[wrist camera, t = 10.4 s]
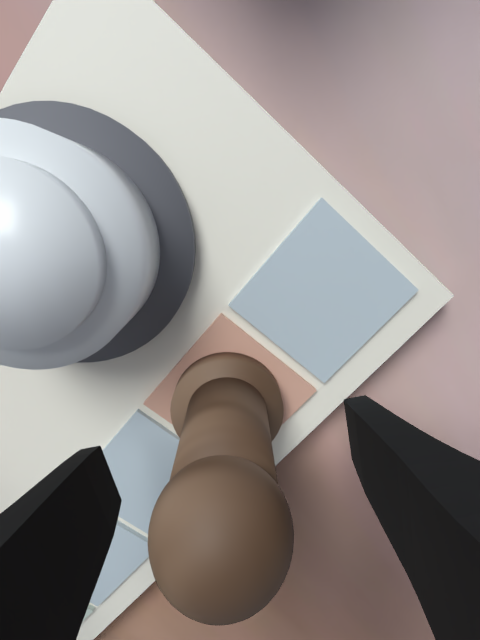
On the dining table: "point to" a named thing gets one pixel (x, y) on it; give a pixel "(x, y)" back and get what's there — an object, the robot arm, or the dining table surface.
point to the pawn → (222, 494)
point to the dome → (67, 249)
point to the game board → (195, 266)
